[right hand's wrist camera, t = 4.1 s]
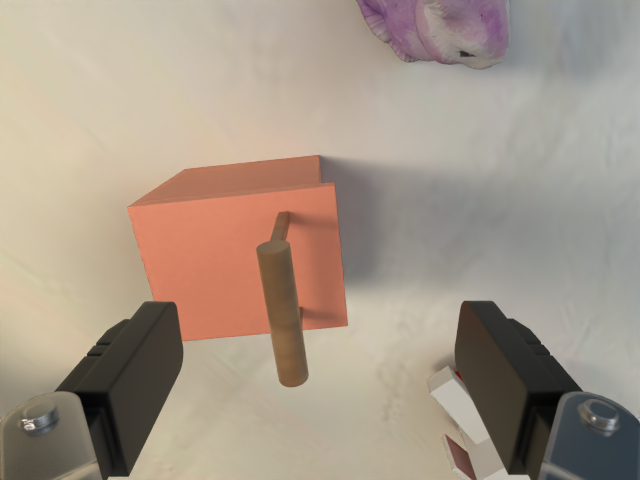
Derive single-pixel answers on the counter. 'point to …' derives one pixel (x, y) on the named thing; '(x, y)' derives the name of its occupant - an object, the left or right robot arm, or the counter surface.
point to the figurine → (442, 29)
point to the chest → (239, 178)
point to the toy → (467, 431)
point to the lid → (248, 265)
